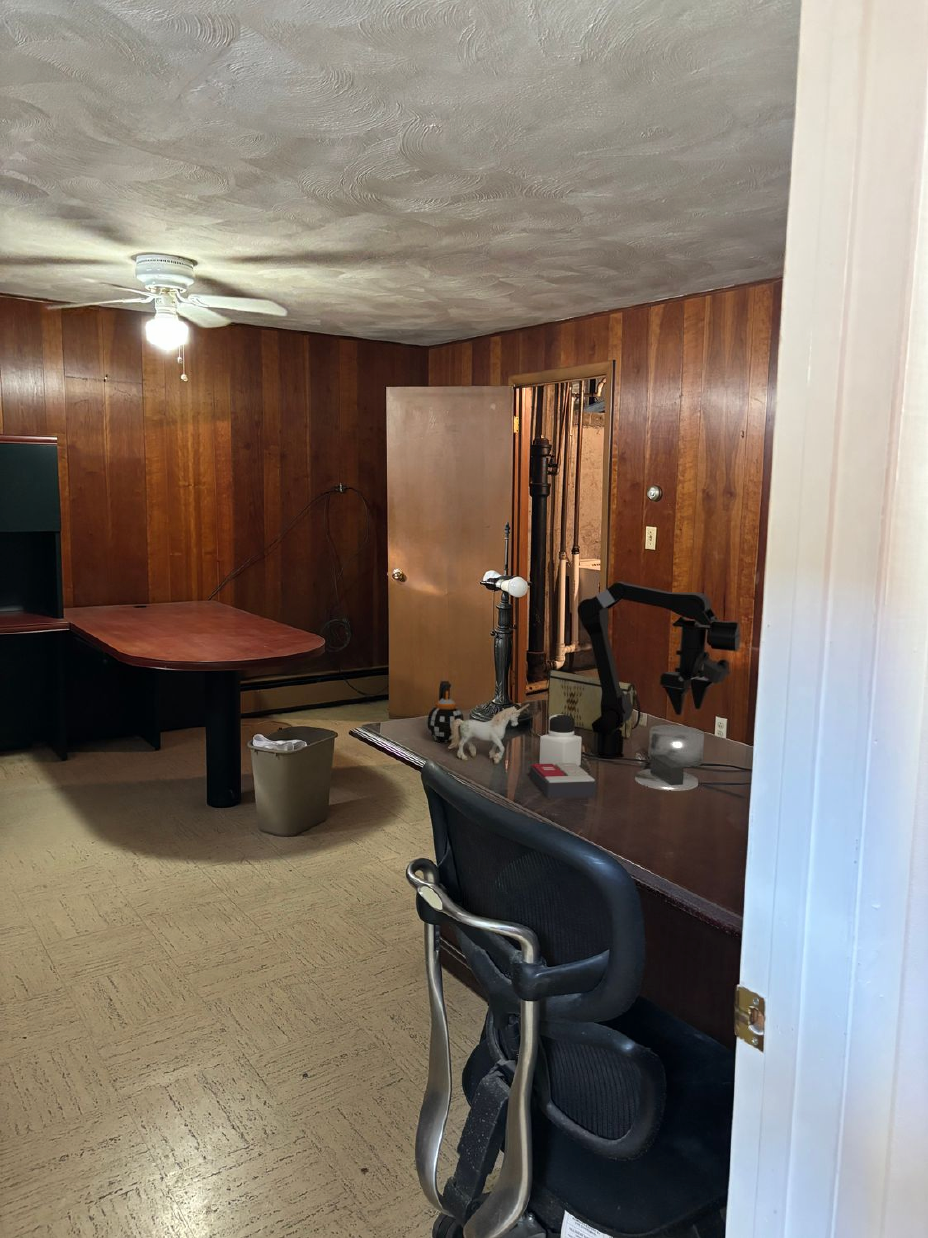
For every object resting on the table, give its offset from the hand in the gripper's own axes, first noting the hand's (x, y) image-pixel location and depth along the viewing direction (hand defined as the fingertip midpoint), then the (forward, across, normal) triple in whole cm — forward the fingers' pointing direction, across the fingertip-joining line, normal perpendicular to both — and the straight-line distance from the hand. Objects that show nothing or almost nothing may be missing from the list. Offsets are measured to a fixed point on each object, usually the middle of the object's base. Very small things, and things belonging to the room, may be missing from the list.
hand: (688, 711), depth 211 cm
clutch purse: (+14, +14, +36) cm, 42 cm away
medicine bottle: (+14, -21, +21) cm, 33 cm away
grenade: (+14, -25, +55) cm, 62 cm away
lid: (+14, -12, -2) cm, 19 cm away
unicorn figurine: (+14, -29, +37) cm, 49 cm away
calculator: (+14, -34, +11) cm, 38 cm away
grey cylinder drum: (+14, +4, +5) cm, 15 cm away
